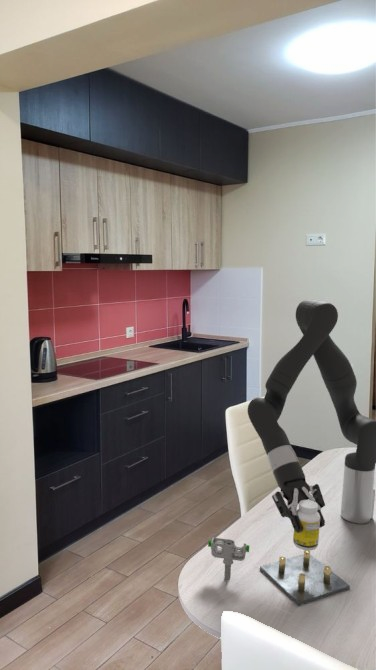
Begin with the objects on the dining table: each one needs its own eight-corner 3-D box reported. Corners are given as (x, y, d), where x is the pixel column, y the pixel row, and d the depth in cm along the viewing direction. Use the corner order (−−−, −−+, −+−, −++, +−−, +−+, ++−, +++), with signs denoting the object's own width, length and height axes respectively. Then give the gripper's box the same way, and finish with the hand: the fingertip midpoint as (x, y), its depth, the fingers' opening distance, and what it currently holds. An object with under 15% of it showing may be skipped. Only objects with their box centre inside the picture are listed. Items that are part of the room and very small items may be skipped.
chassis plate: (308, 556, 144) (309, 541, 144) (349, 589, 130) (351, 572, 130) (259, 569, 137) (260, 553, 137) (298, 606, 123) (299, 588, 123)
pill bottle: (290, 538, 135) (293, 498, 134) (313, 538, 136) (316, 498, 134) (296, 551, 129) (300, 509, 128) (321, 551, 130) (324, 509, 128)
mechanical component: (246, 585, 130) (248, 548, 129) (206, 579, 132) (207, 542, 131) (247, 578, 133) (249, 541, 132) (208, 572, 135) (209, 536, 134)
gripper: (269, 464, 133) (295, 529, 124) (314, 456, 140) (341, 518, 131) (256, 476, 139) (280, 539, 130) (300, 468, 145) (325, 528, 136)
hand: (311, 528), depth 130 cm, fingers closed on pill bottle, 6 cm apart
